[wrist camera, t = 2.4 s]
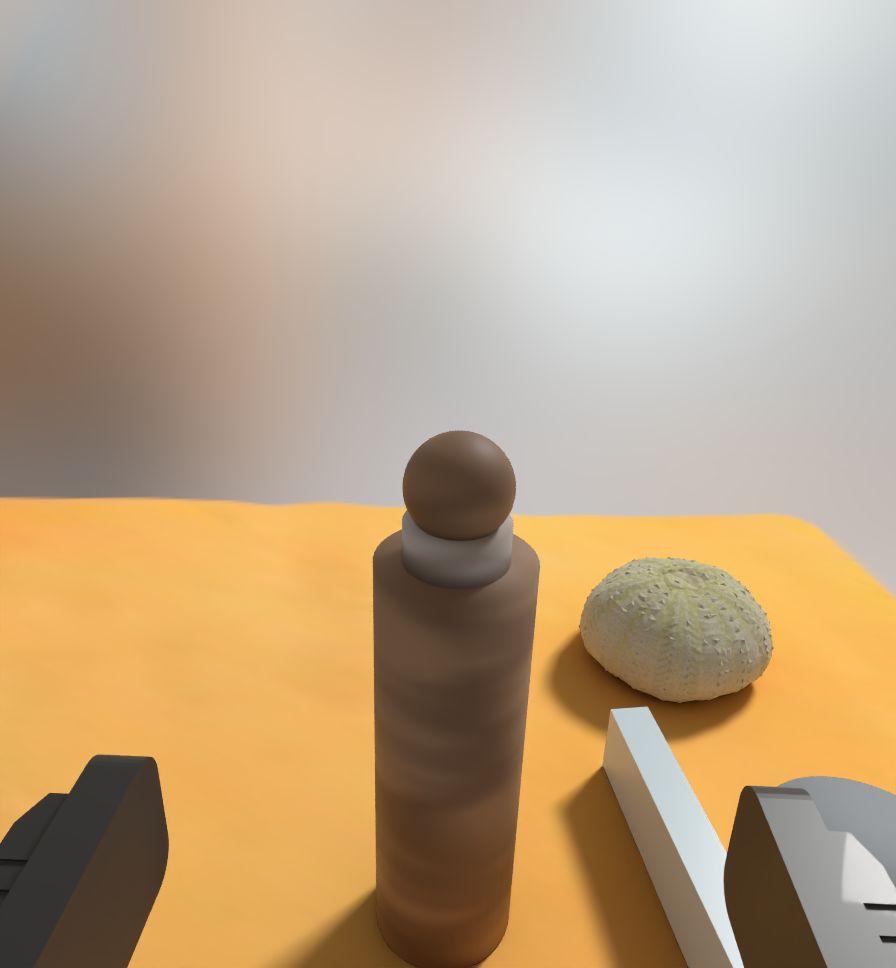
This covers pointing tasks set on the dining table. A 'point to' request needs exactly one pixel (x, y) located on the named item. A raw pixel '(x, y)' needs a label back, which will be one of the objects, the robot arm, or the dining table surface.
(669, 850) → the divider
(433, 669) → the pepper mill
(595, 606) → the sea urchin shell
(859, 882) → the robot arm
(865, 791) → the gray pad
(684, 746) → the dining table surface
